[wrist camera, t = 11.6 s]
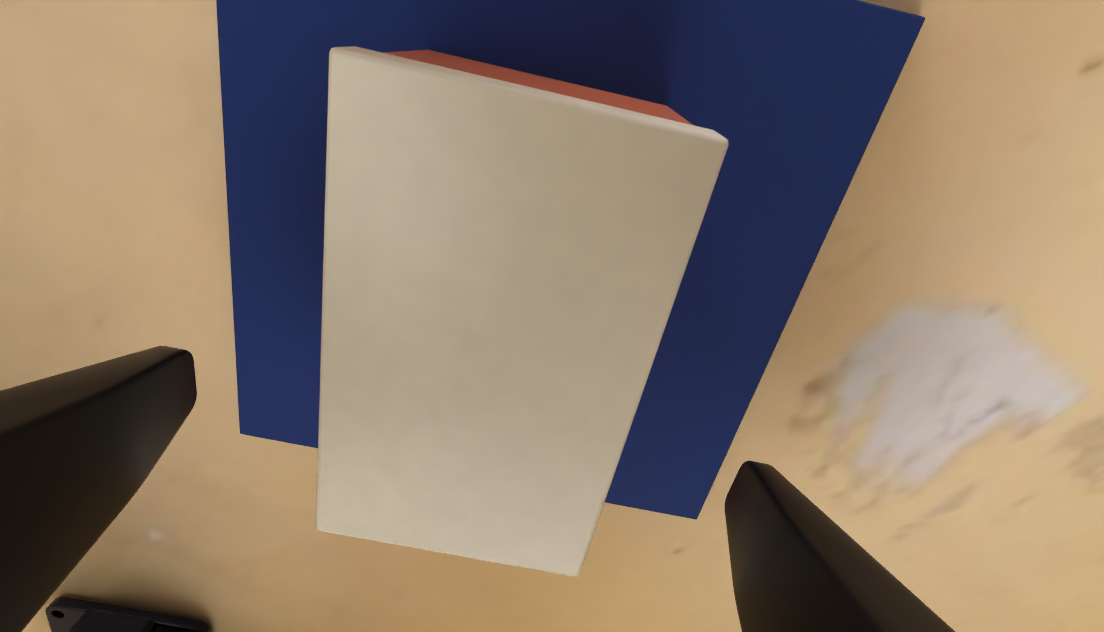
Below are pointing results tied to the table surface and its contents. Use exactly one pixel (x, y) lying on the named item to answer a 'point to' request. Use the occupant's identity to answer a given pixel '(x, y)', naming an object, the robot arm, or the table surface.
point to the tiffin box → (492, 298)
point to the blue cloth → (596, 62)
